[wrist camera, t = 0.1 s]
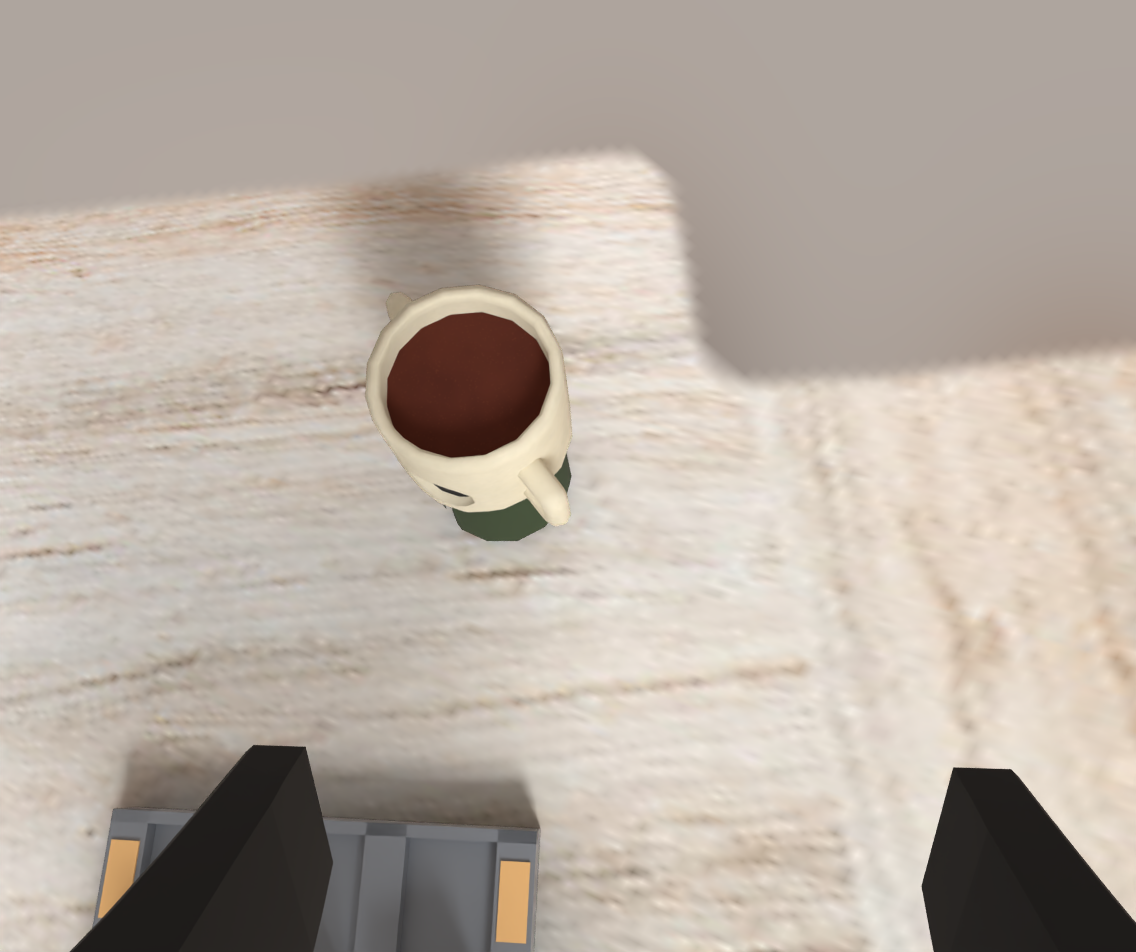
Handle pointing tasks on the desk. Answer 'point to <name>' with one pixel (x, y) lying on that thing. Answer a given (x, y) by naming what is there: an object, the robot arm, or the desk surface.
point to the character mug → (476, 407)
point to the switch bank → (382, 881)
